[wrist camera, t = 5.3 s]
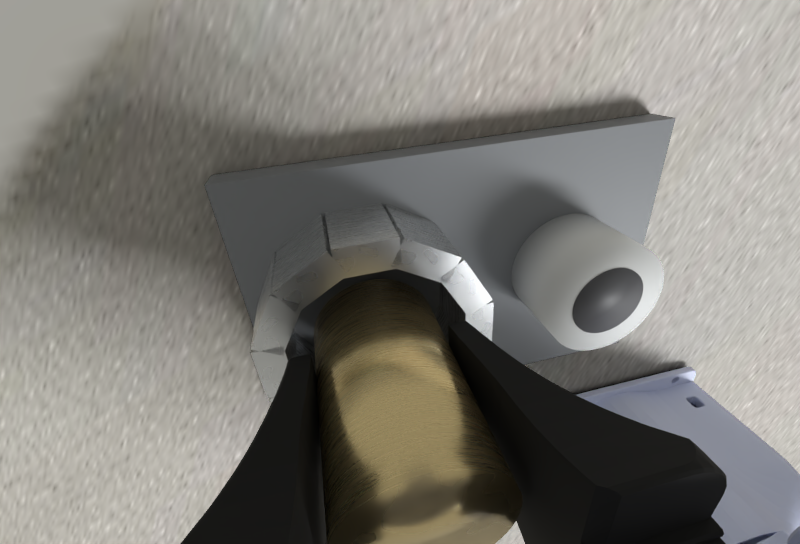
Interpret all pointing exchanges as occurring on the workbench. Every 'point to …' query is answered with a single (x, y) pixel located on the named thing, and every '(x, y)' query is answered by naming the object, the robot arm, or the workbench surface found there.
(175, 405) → the workbench surface
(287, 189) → the flange plate
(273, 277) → the socket collar
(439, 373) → the brass cylinder
